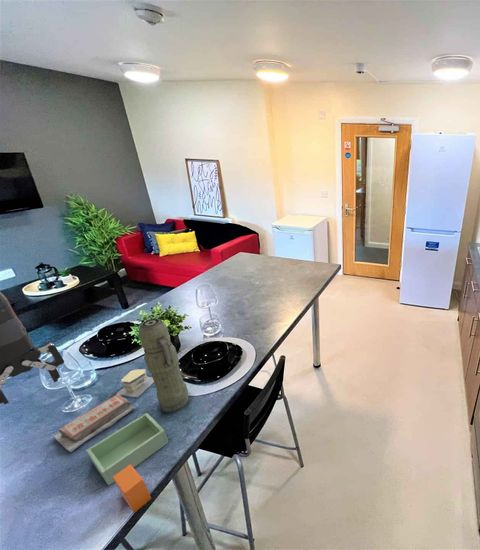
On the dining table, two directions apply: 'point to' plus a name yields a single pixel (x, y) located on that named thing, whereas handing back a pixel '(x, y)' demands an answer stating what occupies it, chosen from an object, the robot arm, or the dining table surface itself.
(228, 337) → the dining table surface
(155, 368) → the thermos
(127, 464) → the bin
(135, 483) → the block
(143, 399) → the dining table surface
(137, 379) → the stacked layers on plate
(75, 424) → the packaged product
